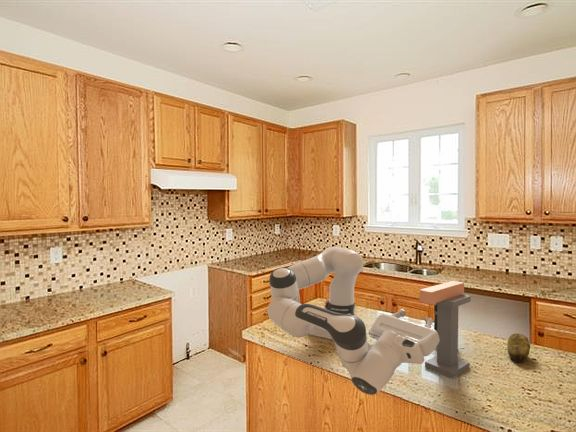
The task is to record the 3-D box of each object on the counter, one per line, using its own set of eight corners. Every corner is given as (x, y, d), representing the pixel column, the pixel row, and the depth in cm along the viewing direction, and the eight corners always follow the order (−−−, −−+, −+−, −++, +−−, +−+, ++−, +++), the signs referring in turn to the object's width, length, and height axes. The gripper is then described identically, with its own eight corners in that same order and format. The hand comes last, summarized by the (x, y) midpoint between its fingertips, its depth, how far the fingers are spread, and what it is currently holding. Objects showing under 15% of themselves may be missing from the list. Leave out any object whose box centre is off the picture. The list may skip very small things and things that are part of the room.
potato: (499, 358, 126) (499, 337, 126) (511, 349, 134) (511, 329, 134) (525, 366, 120) (525, 344, 119) (536, 356, 128) (536, 335, 128)
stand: (452, 378, 112) (453, 302, 111) (424, 367, 120) (425, 295, 119) (469, 368, 119) (470, 295, 118) (442, 357, 127) (443, 290, 126)
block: (430, 304, 108) (430, 292, 108) (419, 301, 111) (419, 289, 111) (463, 293, 121) (464, 282, 121) (453, 291, 125) (453, 280, 124)
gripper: (369, 342, 109) (391, 313, 115) (427, 366, 92) (450, 331, 99) (362, 327, 107) (386, 299, 113) (421, 349, 90) (444, 315, 97)
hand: (416, 314), depth 106 cm, fingers open, 8 cm apart
